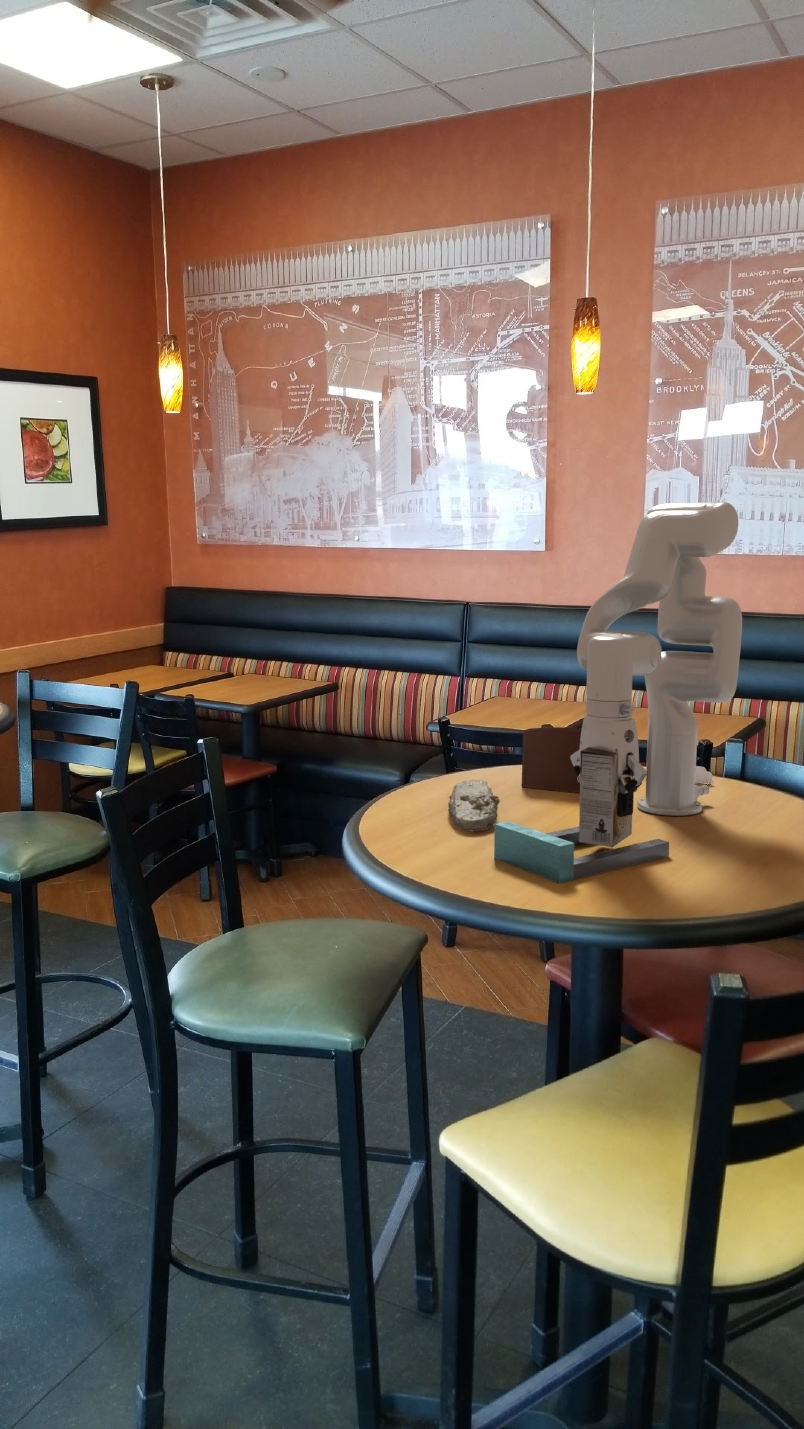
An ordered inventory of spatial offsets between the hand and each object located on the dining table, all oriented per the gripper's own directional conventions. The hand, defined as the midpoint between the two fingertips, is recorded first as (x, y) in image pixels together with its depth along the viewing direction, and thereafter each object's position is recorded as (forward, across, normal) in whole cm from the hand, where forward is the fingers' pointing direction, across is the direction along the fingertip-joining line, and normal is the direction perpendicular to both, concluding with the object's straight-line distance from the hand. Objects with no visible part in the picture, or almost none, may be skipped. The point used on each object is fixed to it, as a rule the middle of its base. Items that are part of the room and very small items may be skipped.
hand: (605, 809), depth 177 cm
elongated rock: (+8, +36, +1) cm, 37 cm away
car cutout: (+8, +29, -52) cm, 60 cm away
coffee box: (+5, 0, 0) cm, 5 cm away
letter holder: (+8, +39, -29) cm, 49 cm away
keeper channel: (+8, 0, +6) cm, 9 cm away
